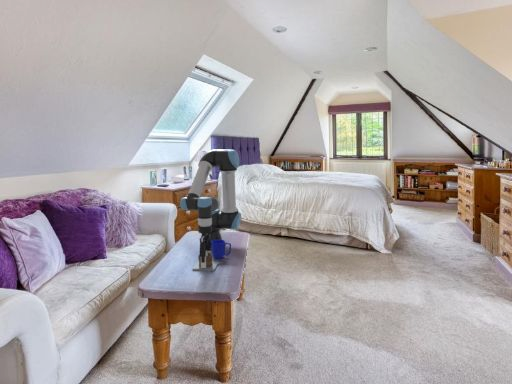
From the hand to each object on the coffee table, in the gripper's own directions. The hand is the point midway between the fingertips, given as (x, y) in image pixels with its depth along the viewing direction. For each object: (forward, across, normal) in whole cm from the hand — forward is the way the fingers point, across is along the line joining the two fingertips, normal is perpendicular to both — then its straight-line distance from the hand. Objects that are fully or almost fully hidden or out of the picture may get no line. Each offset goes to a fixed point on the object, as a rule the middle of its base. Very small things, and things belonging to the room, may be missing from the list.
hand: (205, 264), depth 182 cm
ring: (0, 0, 0) cm, 1 cm away
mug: (+1, -16, +5) cm, 17 cm away
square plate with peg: (+1, -1, 0) cm, 1 cm away
